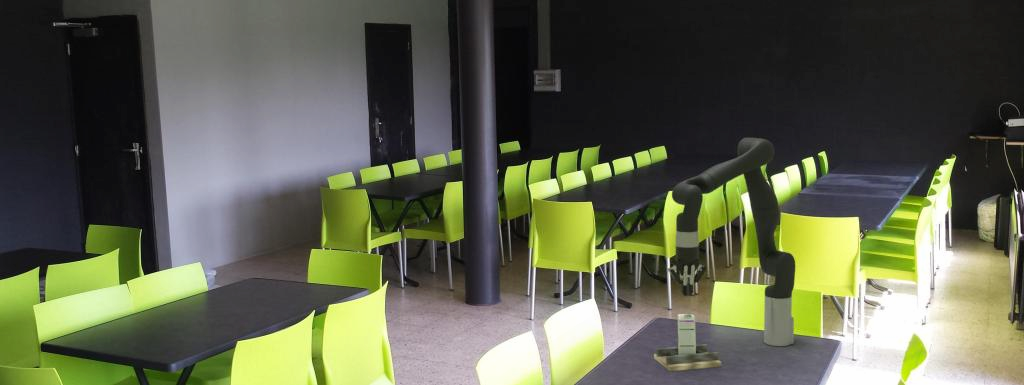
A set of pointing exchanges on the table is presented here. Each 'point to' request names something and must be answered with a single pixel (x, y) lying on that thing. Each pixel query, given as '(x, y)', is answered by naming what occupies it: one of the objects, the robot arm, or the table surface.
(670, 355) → the rail board
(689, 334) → the syrup box
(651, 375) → the table surface
